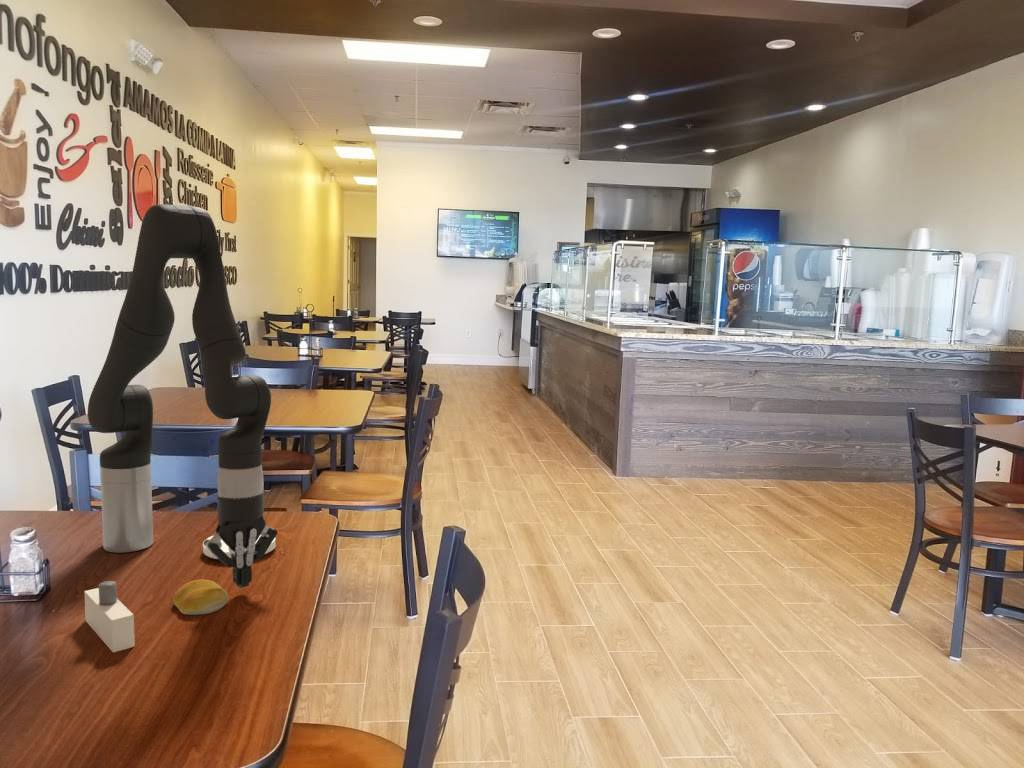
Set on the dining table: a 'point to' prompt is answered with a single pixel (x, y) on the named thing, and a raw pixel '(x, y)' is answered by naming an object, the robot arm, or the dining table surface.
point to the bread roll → (200, 597)
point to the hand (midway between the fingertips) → (242, 585)
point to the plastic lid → (226, 550)
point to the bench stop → (109, 617)
